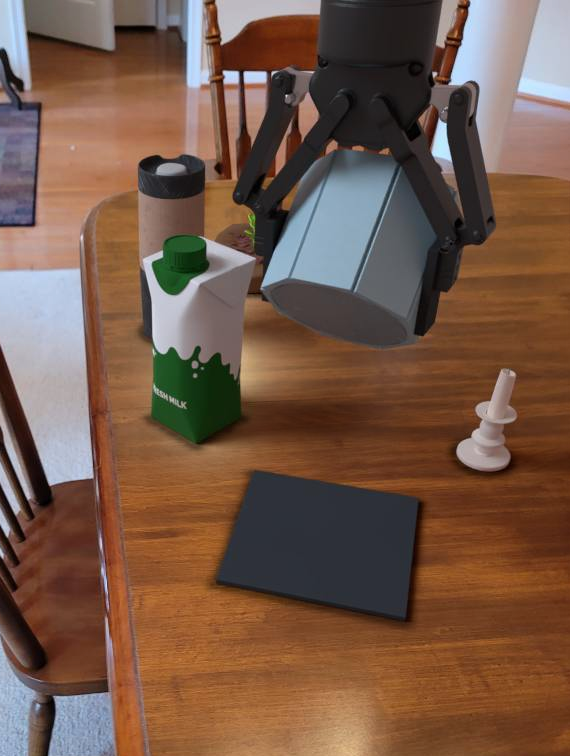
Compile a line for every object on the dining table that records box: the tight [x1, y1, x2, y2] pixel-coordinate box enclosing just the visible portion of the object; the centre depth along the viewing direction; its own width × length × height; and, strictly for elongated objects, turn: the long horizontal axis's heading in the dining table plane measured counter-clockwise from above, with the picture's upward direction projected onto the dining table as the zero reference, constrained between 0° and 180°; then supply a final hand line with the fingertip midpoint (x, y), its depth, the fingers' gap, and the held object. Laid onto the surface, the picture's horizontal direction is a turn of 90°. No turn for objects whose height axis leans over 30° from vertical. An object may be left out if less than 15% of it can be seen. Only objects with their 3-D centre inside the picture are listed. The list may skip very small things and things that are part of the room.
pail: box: [261, 147, 461, 350], centre depth 65 cm, size 10×12×12 cm
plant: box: [214, 203, 283, 294], centre depth 115 cm, size 20×20×11 cm
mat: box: [215, 469, 420, 622], centre depth 76 cm, size 16×16×1 cm
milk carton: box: [143, 235, 256, 444], centre depth 84 cm, size 9×9×20 cm
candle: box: [455, 366, 518, 472], centre depth 81 cm, size 5×5×10 cm
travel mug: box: [137, 153, 206, 340], centre depth 98 cm, size 8×8×20 cm
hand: (345, 311), depth 66 cm, fingers closed on pail, 12 cm apart
